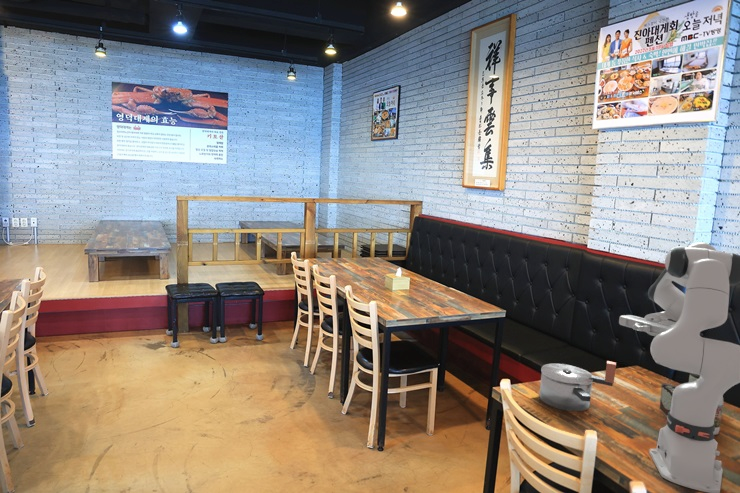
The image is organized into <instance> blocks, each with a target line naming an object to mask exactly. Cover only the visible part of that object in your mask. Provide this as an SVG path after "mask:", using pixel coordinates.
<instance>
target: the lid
mask: <svg viewBox="0 0 740 493" xmlns="http://www.w3.org/2000/svg"><path fill="white" fill-rule="evenodd" d="M616 367H617V362H615V361H612V360H611V361H610V360H606V367H605V375H604V377H603V376H597V375H593V374H592V373H591V372H589V371H588V370H586V369H583V368H582V367H578V366H574V365H570V364H566V363H546V364H543V365H542V366H541V368H540V371H541V375H542V374H543V375H544V376H546V377H547V378H549V379H552V380H554V381H557V382H560V383H564V384H570V385H589V384H591V383H592V384H593V383H596V384H601V385H604V386H609V387H613V386H614V385H613V384H614V383H615V376H616V369H617V368H616Z"/></svg>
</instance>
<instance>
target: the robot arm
mask: <svg viewBox="0 0 740 493" xmlns="http://www.w3.org/2000/svg"><path fill="white" fill-rule="evenodd" d="M664 266H665V268H664V269H663V270H662V272H661V273H660V275H658V278H657V279H656V280H655V282H654V283H653V284H652V285H651V286H649V288H648V290H647V294H648V299H649V300H650V301H652V302H653V303H655V304H657V305H658V306H659V307H660V308H661V309H663V310H664V311H660V312H654V313H649V314H646V315H645V316H644V317H641V316H637V315H632V314H626V315H625V314H623V315H620V316H619V319H618V324H619V325H620V326H623V327H626V328H630V329H633V330H635V331H638V332H644V333H647V335H649V336H653V339H652V341H651V343H650V354H651V356H652V359H653V360H654V362H655V363H656V364H657V365H660V366H663V367H666V368H668V369H671V370H674V371H679V372H684V373H689V374H690V373H693V374H698V375H700V378H699V379H697V380H696V381H693V382H689V381H688V382H684V383H680V384H679V385H676V386H677V387H676V388H675V389H674V391H673V395H672V402H671V409H670V411H669V412H668V415H667V417H666V425H665V426H663V427H661V428H659V431H658V432H659V433H658V436H657V437H658V439H657V443H656V444H657V445H656V447H655V448H649V451H648V453H649V455H650V458H651V459H652V462H653V463H654V465H655V466H656V469H657V470H658V472H659V474H660V476H661V477H662V478H664V479H665V480H667V481H669V482H671V483H673V484H676V485H679V486H682V487H685V488H689V489H691V490H695V491H700V492H704V493H721V487H722V479H723V472H724V470H723V468H722V464H723V463H722V460H719V459H716V457H719V456H720V454H721V451H719V450H717V449H718V444H719V443H718V442H717V441H716V439H715V435H714V434H715V423H714V419H715V414H716V410H717V406H718V403H719V400H720V398H721V397H722V395H723V396H724V394H725V393H726V392H727V391H728V390H729V389H731V388H732V387H734V386H735V385H738V384H740V345H739V344H737V343H733V342H730V341H724V340H719V339H713V338H707V337H702V336H701V332H703V331H705V330H708V329H709V330H710V329H713V328H717V327H721V326H722V325H723V324H725V323H726V321H727V319H728V313H729V303H730V302H729V300H730V286H738V285H739V284H740V254H737V253H734V252H729V253H728V252H726V251H719V250H717V249H716V248H715V247H714V246H713V245H711V244H709V243H707V242H694V243H692V244H690V245H689V246H688V247H687V246H683V245H681V246H679V245H678V246H674V247H672V248H670V249H669V251H668V253H667V254H666V256H665V260H664ZM672 282H674V283H676V284H678V285H680V286H682V287H684V288H685V293H684V292H683V291H682V290H680V289H679V288H678V287H676V286H675V285H674V283H672Z"/></svg>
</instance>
